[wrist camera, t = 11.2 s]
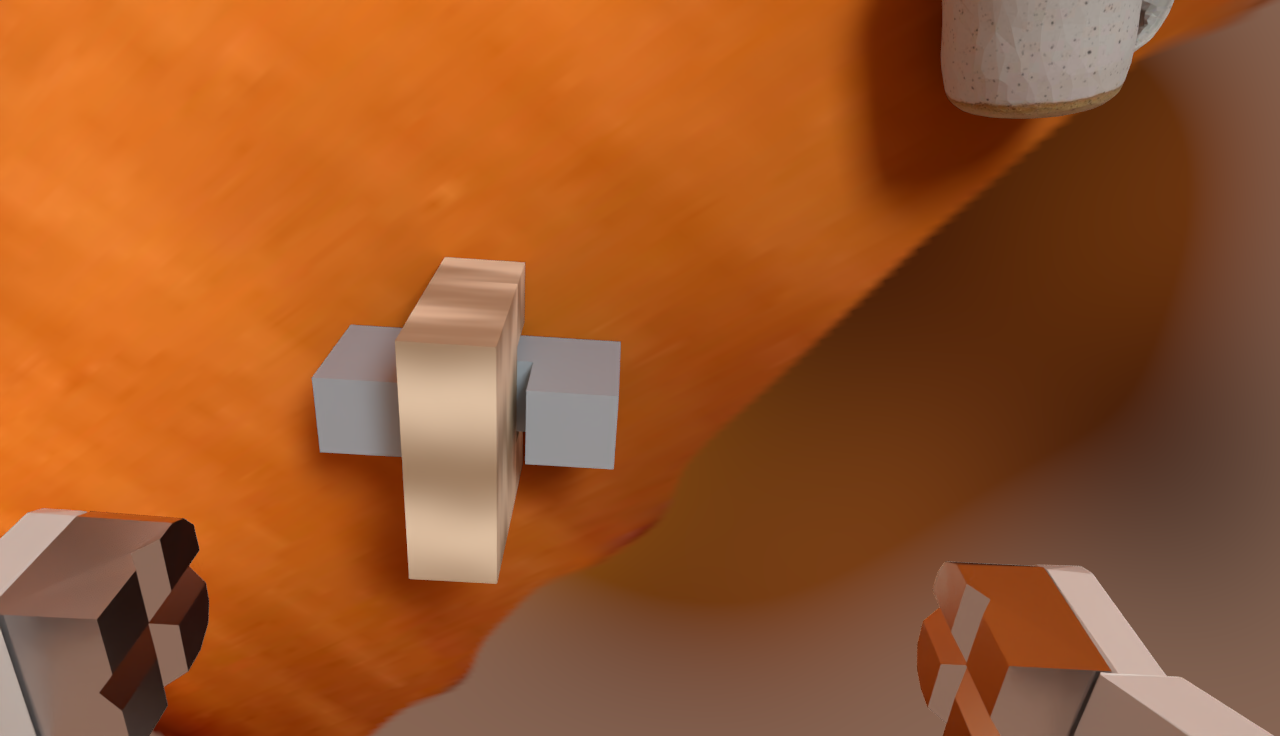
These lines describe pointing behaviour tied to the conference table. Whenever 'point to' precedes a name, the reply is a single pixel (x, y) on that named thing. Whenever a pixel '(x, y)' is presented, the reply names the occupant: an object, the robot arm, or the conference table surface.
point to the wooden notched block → (461, 418)
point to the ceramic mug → (1041, 53)
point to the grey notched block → (546, 398)
